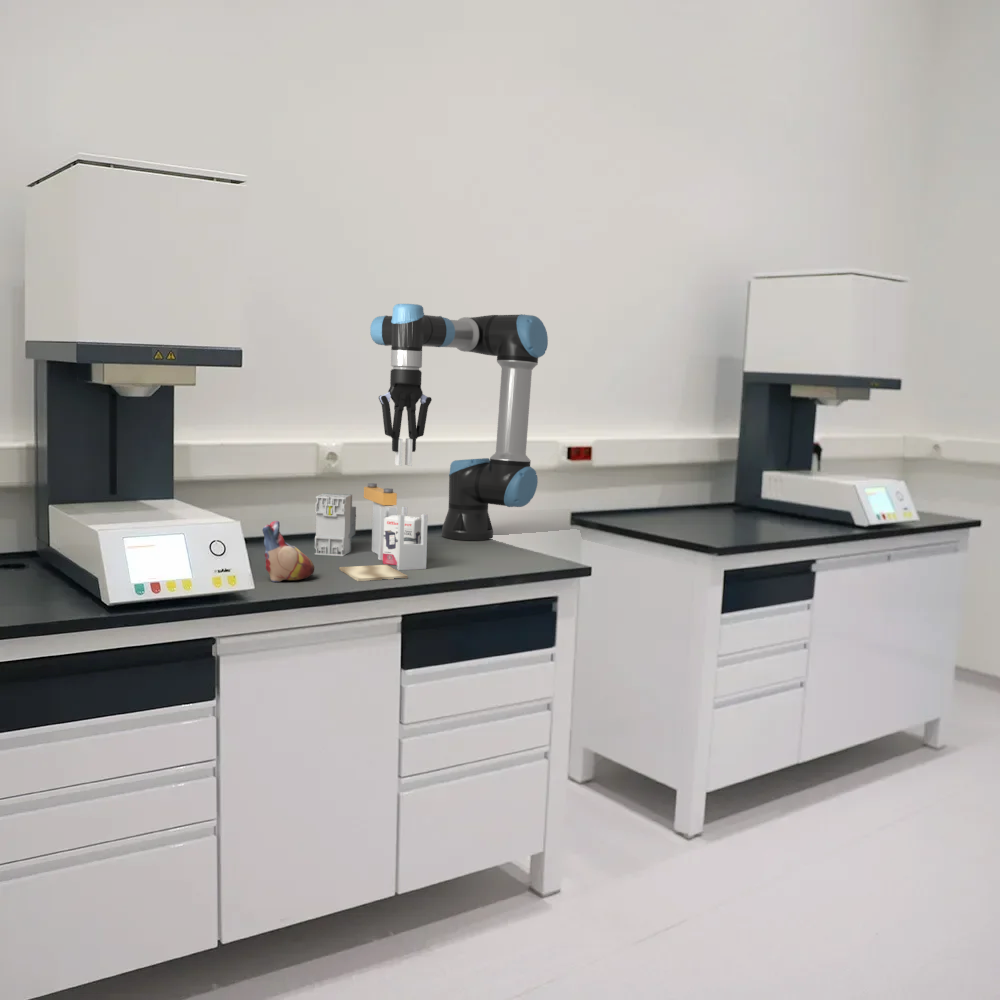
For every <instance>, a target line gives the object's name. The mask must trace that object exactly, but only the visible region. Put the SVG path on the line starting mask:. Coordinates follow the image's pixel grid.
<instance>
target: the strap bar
mask: <svg viewBox="0 0 1000 1000" xmlns="http://www.w3.org/2000/svg"><path fill="white" fill-rule="evenodd" d="M377 485H378V484H377V483H375V482H367V486H364V487H363V498H364V499H366V500H368V501H371V502H372V503H373V502H376V503H378V504H381V505H393V506H397V504H398V503H397V501H398V498H397V497H398V496H397V495H398V494H397V492H394V488H383V487H379V486H377Z"/></svg>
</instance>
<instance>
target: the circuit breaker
mask: <svg viewBox="0 0 1000 1000" xmlns="http://www.w3.org/2000/svg"><path fill="white" fill-rule="evenodd" d="M315 499H316V502H315V503H314V504H315V506H314V510H315V511H314V512H315V514H316V515H315V517H316V519H315V536H314V549H315V552H314V555H319V556H334V557H335V556H336V557H344V556H346V555H347V554H349V553H350V552H351V551H352V537H353V536H355V535H356V521H357V520H356V519H357V507H356V506H353V494H347V493H330V492H329V493H328V492H327V493H325V492H323V493H321V494H318V495H317V496H315Z"/></svg>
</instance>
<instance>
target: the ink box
mask: <svg viewBox="0 0 1000 1000" xmlns="http://www.w3.org/2000/svg"><path fill="white" fill-rule="evenodd" d="M398 515H399V514H397V515H391V516H389V517H386V518H384V537H383V560H382V565H388V566H397V546H398ZM404 544H421V517H419V516H409V515H407V516H404Z"/></svg>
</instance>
